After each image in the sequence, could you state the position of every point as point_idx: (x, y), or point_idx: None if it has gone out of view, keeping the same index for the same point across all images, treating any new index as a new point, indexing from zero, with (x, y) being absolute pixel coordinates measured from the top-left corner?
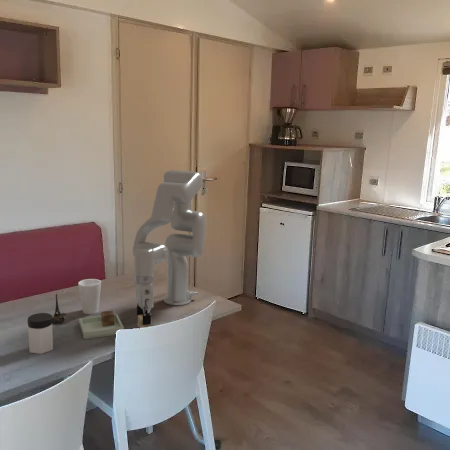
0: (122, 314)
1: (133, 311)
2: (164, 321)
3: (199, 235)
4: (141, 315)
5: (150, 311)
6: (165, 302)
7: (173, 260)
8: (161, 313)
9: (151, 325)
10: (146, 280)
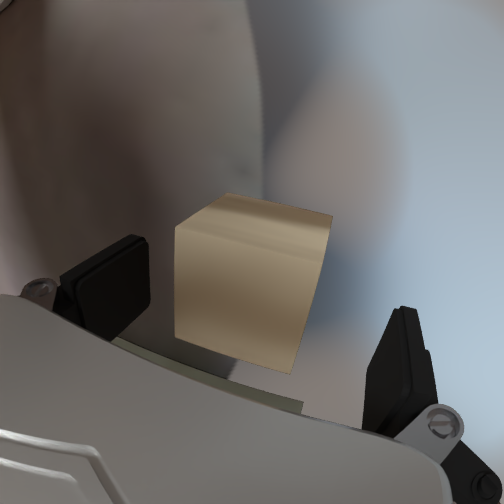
0: (54, 274)
1: (30, 204)
2: (236, 36)
3: None
4: (191, 315)
5: (498, 493)
6: (5, 6)
7: None
8: (89, 32)
9: (330, 227)
10: None
